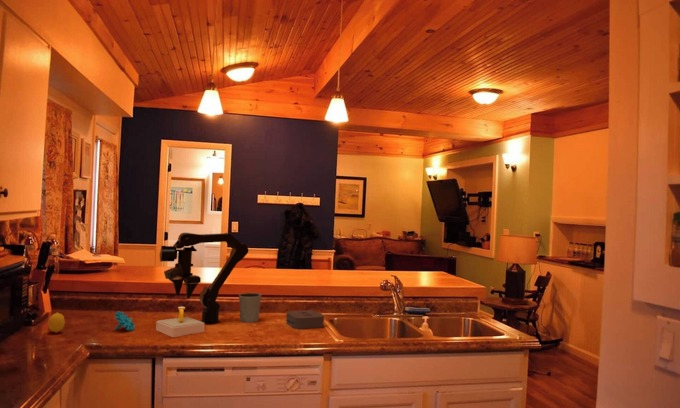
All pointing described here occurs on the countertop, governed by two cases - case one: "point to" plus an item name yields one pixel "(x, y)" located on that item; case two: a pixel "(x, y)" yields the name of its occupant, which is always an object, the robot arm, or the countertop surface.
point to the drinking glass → (249, 307)
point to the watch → (181, 313)
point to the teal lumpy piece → (124, 321)
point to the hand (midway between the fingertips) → (182, 296)
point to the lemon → (56, 322)
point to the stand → (179, 326)
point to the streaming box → (305, 319)
